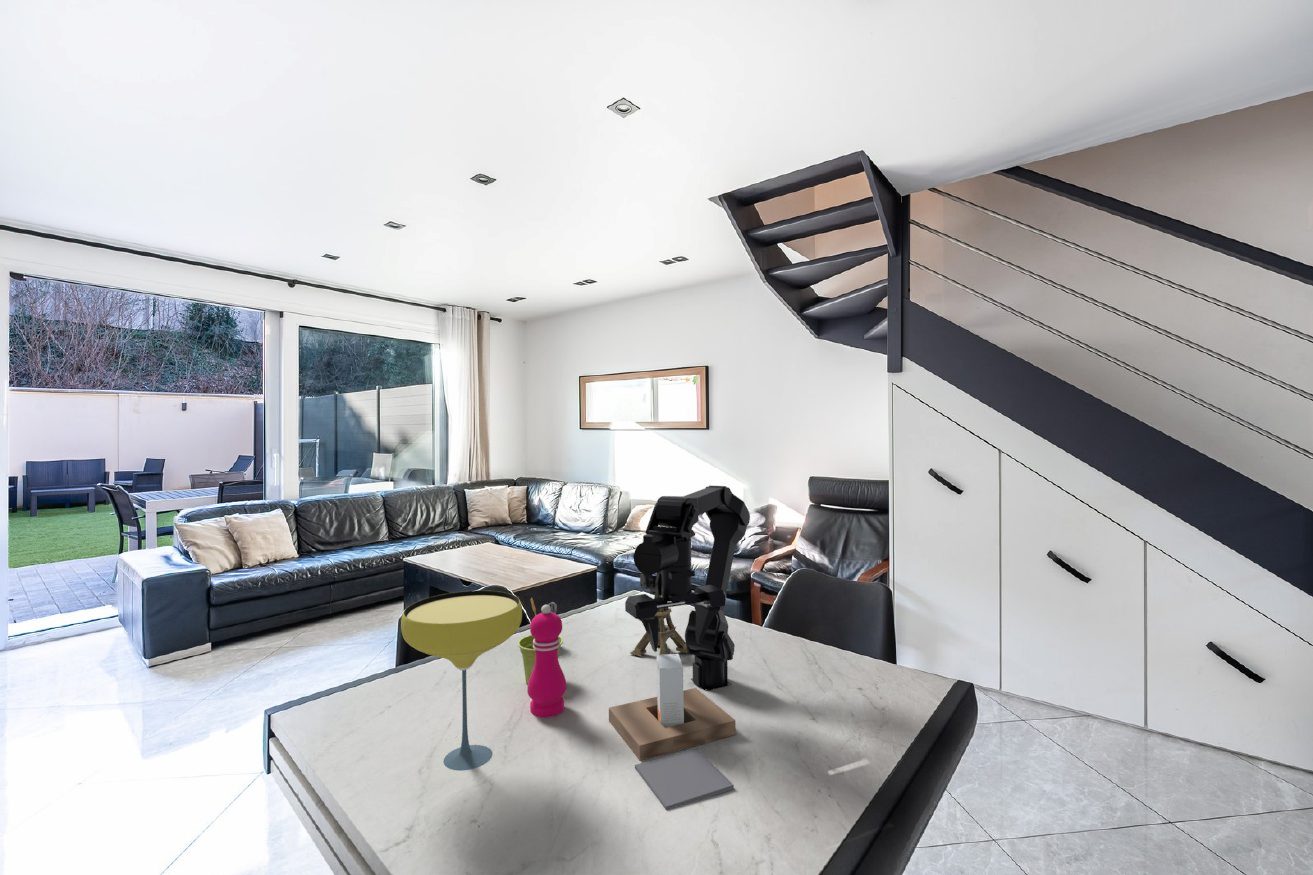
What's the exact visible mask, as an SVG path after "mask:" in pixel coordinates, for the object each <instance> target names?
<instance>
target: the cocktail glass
mask: <svg viewBox="0 0 1313 875" xmlns="http://www.w3.org/2000/svg"><path fill="white" fill-rule="evenodd" d="M522 620H523V608H522V602H521V599H520V598H519V597H518V596H516V595H515V594H512V593H509V592H504V591H497V590H466V591H456V592H450V593H449V592H447V593H443V594H438V595H433V596H430V597H426V598H423V599H421V600H418V601H416V602H414V603H412V604H409V605H408V606H407V607H405V609H404V610H403V612H402V614H401V621H400V623H401V624H400V630H401V634H402V638H403V639H404V641H405V642H406V644H408V645H409V646H410V647H412V648H414V649H415V650H416V651H418V652H421V653H423V654H426V655H429V656H433V657H435V658H436V657H437V658H441V659H446V660H448V661H450V662H451V663H452V665H453V666H454V667H455V668H456V669H457V670H459V671H461V677H462V678H461V680H462V681H461V682H462V683H461V684H462V685H461V686H462V692H461V693H462V726H461V727H462V733H461V735H462V736H461V744H460V745H461V746H459V747H457V748H456V749H453V750H452V751H449V752H448V753H447V754H446V755H445V757H444V758H443V766H444V767H446V768H447V769H449V770H452V771H456V772H457V771H458V772H459V771H464V772H465V771H470V770H474V769H478V768H481V767H482V766H484V765H486V764H487V763H489V762H490V760H491V759H492V757H493V750H492V749H491V748H490V747H488V746H486V745H480V744H470V742H469V734H468V731H469V730H468V704H467V696H468V695H467V670H469V669H470V668H471V667H472V666H473V664H474V663H475V662H476V660H477V659H478V658H479V657H480V656H482V655H483V654H485V653H487V652H489V651H491V650H493V649H494V648H496V647H497V646H500V645H501V644H503V643H504V642H506V641H507V640H509V639H510V638H511V637H512V636H513V635H514V634H515V633H516V632H517V630H518V629H519V628H520V626H521V624H522Z"/></svg>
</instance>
